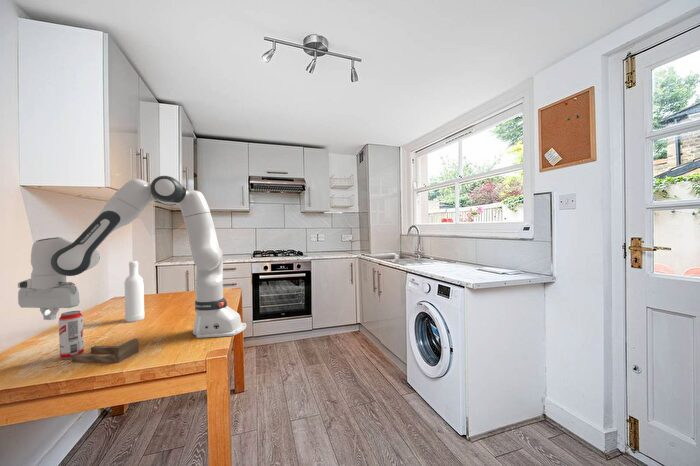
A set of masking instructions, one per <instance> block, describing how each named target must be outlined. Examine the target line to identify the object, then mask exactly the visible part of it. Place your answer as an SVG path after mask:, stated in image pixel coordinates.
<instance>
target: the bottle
mask: <svg viewBox="0 0 700 466" xmlns="http://www.w3.org/2000/svg"><path fill="white" fill-rule="evenodd" d="M128 269H129V275H128V276H127V277H126V278H125V281H124V282H123V283H124V312H125V313H124V314H125V315H124V319H125V320H124V321H125V322H127V323H133V322H139V321H143V320H144V319H145V313H146V312H145V291H144V289H145V288H144V286H145V285H144V279H143V277H142V276H141V275H140V274H139V261H137V260H132V261H129V263H128Z"/></svg>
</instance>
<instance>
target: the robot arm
mask: <svg viewBox="0 0 700 466" xmlns="http://www.w3.org/2000/svg"><path fill="white" fill-rule="evenodd" d="M153 202H154V203H158V204H161V205H164V206H175V205H177V206H178V207H179V209H180V211H181V215H182V217H183V222H184V224H185V228H186V229H185V230H186V231H187V235H188V241H189V246H190V251H191V256H192V260H193V264H194V265H195V267H196V273H195V274H196V276H195V300H194V310H195V319H194V324H193V330H192V334H193V335H194V336H195V337H196V338H197V339H201V338H216V337H217V338H218V337H233V336H236V335H238V334H240V333H242V332H243V331H244V330H245V329H246V328H247V324H246V322H242V318H241V315H240V313H238V312H237V311H236V310H234V309H233V308H231V307H229V306H228V302H229V298H228V299H225V297H224V253H223V250H222V248H220V245H219V241H218V237H217V231H216V227H215V223H214V221H213V220H214V219H213V217H212V213H211V209H210V207H209V204H208V202H207V199H206V198H205V196H204V194H203V193H202V191H199V190H193V189H192V190H191V189H190V190H187V189H186V187H184V185H182V184H181V183H180V182H179V181H178V180H177V179H176V178H174V177H172V176H170V175H160V176H157V177H155V178H154V179H153V180H152V181H151V183H149V182H147V181H145V180H143V179H139V178H132V179H130V180H129V181H127V182H126V183H124V184H123V185H122V186H121V187H120V188H118V190H116V192H115V193H114V194H113V195H112V196H111V197H110V198H109V199H108V201H107V202H106V203H105V205H104V207H103V208H102V209H101V211H100V212H99V214H98V215H97V216H96V218H95V219H94V220H93V221H92V222H91V223H90V225H88V227H87V228H86V229H85V230H84V231H83V232H82V233H81V234H80V235H78V237H77V238H76V239H75V240H74V241H73V242H72V241H69V240H66V239H65V238H63V237H57V236H56V237H49V238H48V237H47V238H42V239H38V240H35V241H34V242H33V244H32V246H31V252H30V264H31V269H32V271H31V273H30V278H28V279H25V280H21V281H20V282H18V283H17V288H18V289H19V290H18V291H17V302H18V303H17V304H18V305H19V307H20V308H21V309H22V308H25V309H26V308H30V309H33V308H34V309H35V308H36V309H37V308H38V309H39V311H40V312H41V315H42V316H43V320H44V321H45V320H47V321H52V320H56V319H57V314H58V312H59V310H60V309H71V308H76V307H78V306H79V305H80V302H81V301H80V294H79V290H78V286H77V285H76V284H75V283H74V282H72V281H68V282H67V277H72V276H73V277H75V276H77V275H80V274H82V273H84V272H86V271H88V270H90V269H93V268H94V267H95V266H97V265H98V263H99V262H100V257H101V256H100V253H99V251H97V248H99V246H100V245H101V244H102V243H103V242H104V241H105V240H106V238H107V237H108V236H109V235H110V234H112V233H113V232H114V231H116V230H119V229H120V228H122V227H124V226H127V225H129V224H131V223H132V222H134V221H135V220H136V219H137V218H139V216H140V215H141V214H142V212H144V210H145V208H146V207H148V205H150V204H151V203H153Z"/></svg>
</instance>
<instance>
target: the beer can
mask: <svg viewBox="0 0 700 466" xmlns="http://www.w3.org/2000/svg"><path fill="white" fill-rule="evenodd" d="M83 317H84V316H83V314H82V313H81V310H72V311H70V310H69V311H66V312H63V313H61V314H60V317H59V318H58V336H59V337H58V340H59V341H58V342H59V358H60V359H63V360H69V359H71V356H73V355H75V354H84V351H85V346H84V344H85V343H84V319H83Z"/></svg>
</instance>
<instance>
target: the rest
mask: <svg viewBox="0 0 700 466" xmlns="http://www.w3.org/2000/svg"><path fill="white" fill-rule="evenodd" d="M139 342H140V341H139V338H133V339H131V340H129V341H126V342H124V343H121V344H120V345H93V346H91V347H90V353H91V354H90V353H87V354H85V353H82V354H75V355H73V356H71V362H73V363H76V362H77V363H78V362H79V363H81V362H82V363H120V362H123V361H124V360H126V359H129V357H132V356H133V355H135V354H137V353H138V352H139V350H140V348H139V345H140V344H139Z"/></svg>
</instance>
